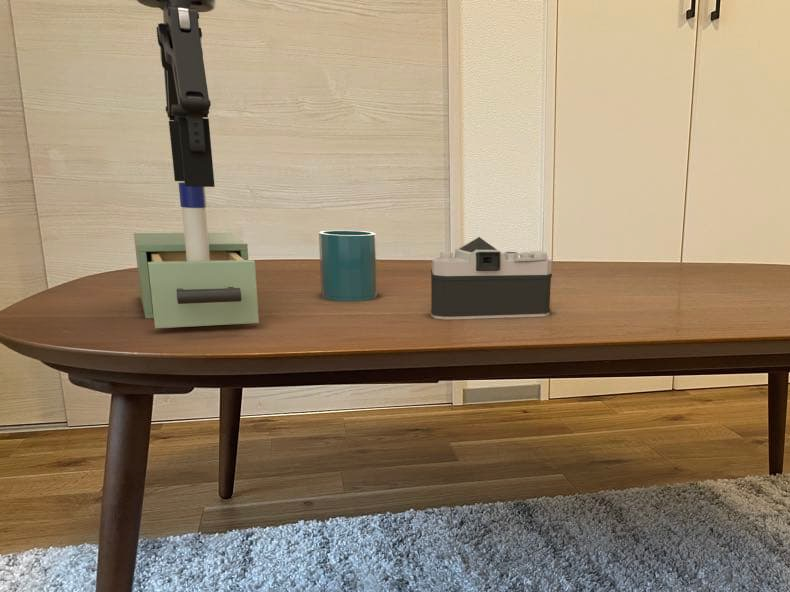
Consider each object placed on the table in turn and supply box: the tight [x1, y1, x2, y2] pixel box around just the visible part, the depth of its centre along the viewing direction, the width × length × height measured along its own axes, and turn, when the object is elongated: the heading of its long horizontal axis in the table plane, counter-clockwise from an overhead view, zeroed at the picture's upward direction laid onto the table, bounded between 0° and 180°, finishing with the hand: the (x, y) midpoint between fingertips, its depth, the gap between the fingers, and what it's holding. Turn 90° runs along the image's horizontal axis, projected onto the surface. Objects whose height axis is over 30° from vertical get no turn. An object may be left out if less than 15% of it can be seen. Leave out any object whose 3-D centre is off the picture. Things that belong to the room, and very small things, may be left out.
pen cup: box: [318, 230, 378, 302], centre depth 107 cm, size 7×7×9 cm
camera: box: [430, 236, 553, 320], centre depth 100 cm, size 16×9×10 cm, turn 111°
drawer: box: [148, 251, 260, 329], centre depth 86 cm, size 17×10×7 cm, turn 28°
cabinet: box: [133, 232, 249, 319], centre depth 96 cm, size 14×12×9 cm
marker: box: [178, 181, 210, 261], centre depth 86 cm, size 3×3×14 cm
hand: (193, 184), depth 84 cm, fingers open, 13 cm apart
